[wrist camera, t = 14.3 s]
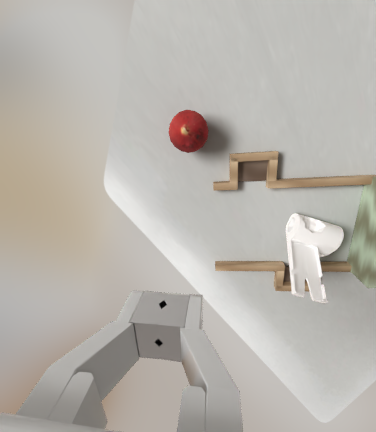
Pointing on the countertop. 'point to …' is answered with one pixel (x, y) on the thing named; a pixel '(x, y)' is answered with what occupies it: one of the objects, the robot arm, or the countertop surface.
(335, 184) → the trap lane
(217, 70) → the countertop surface
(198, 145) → the onion
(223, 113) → the countertop surface
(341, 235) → the plastic part
